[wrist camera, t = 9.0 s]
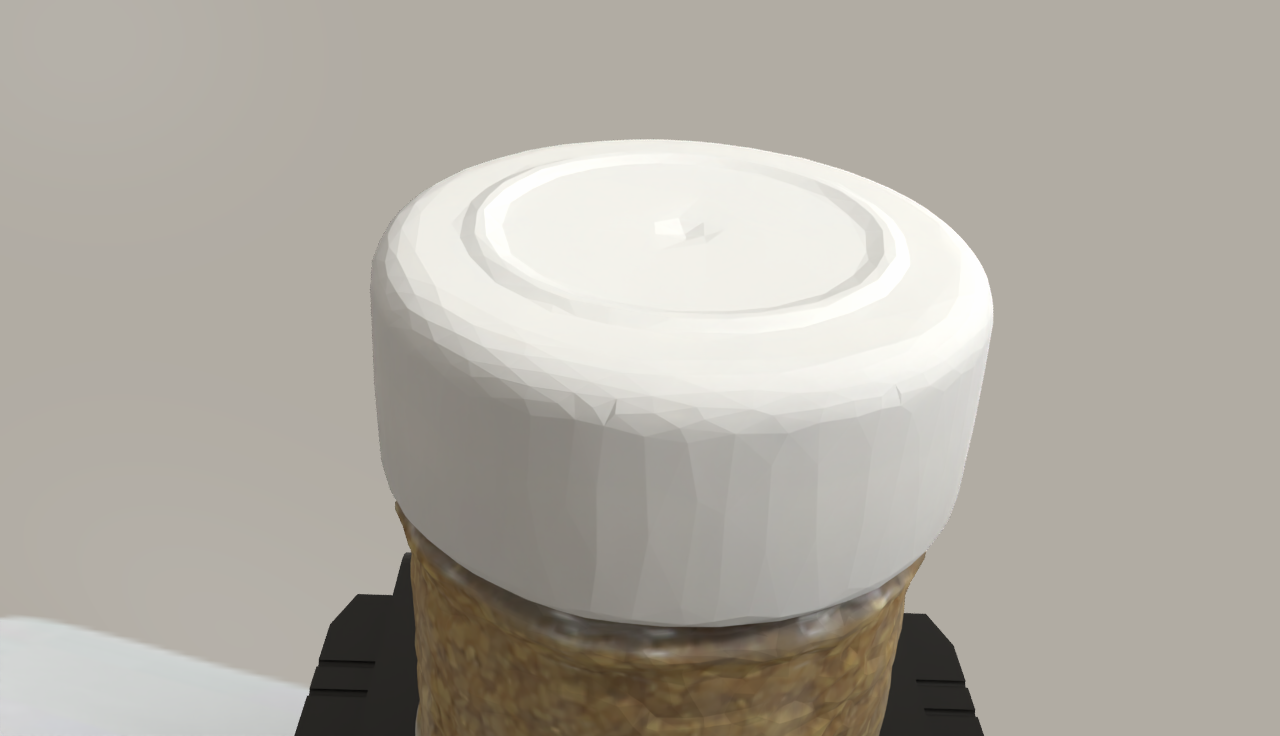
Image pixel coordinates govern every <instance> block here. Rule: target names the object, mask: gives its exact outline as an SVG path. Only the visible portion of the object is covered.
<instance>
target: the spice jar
mask: <svg viewBox="0 0 1280 736" xmlns="http://www.w3.org/2000/svg"><path fill="white" fill-rule="evenodd" d="M370 293H371V316H372V339H373V363H374V385H375V396H376V408H377V419H378V430H379V441H380V451H381V460H382V464H383V468H384V471H385V475H386V478H387V481H388V484H389V487H390V490H391V492H392V494H393V495H394V497H395V499H396V502H395V510H396V512H397V514H398V516H399V518H400V521H401V523H402V525H403V528H404V531H405V535H406V538H407V541H408V545H409V547H410V549H411V553H412V556H411V585H412V592H413V604H414V616H415V626H416V632H415V649H416V655H417V659H418V662H417V678H418V690H419V697H420V702H419V705H418V710H417V717H416V728H415V736H879V733H880V729H881V726H882V722H883V719H884V714H885V711H886V706H887V700H888V695H889V689H890V683H891V672H892V665H893V662H894V659H895V654H896V649H897V643H898V639H899V636H900V633H901V629H902V622H903V614H904V602H905V594H906V592H907V589H908V587H909V585H910V582H911V581H912V579H913V577H914V576H915V574H916V572H917V570H918V569H919V567H920V565H921V564H922V562H923V560H924V558H925V554H926V550H928V548H929V547H930V546H931V544H932V543H933V541H934V540H935V539H936V538H937V536H938V535H939V534H940V533H941V531H942V529H943V528H944V526H945V525H946V523H947V521H948V519H949V518H950V514H951V512H952V509H953V507H954V504H955V501H956V499H957V496H958V493H959V488H960V484H961V480H962V476H963V471H964V467H965V462H966V458H967V453H968V449H969V445H970V441H971V436H972V432H973V427H974V423H975V417H976V413H977V408H978V402H979V397H980V392H981V387H982V382H983V377H984V372H985V366H986V361H987V355H988V348H989V344H990V338H991V332H992V326H993V302H992V295H991V291H990V287H989V283H988V279H987V276H986V274H985V272H984V269H983V267H982V265H981V263H980V262H979V260H978V259H977V257H976V256H975V254H974V253H973V251H972V250H971V249H970V248H969V246H968V245H967V244H966V243H965V242H964V241H963V240H962V238H961V237H960V236H959V235H958V234H957V233H956V232H955V231H954V230H953V229H952V228H950V227H949V226H948V225H947V224H946V223H945V222H943V221H942V220H941V219H939V218H938V217H937V216H936V215H934V214H933V213H931V212H930V211H929V210H927V209H926V208H925V207H923V206H921V205H920V204H918V203H916V202H915V201H913V200H912V199H910V198H908V197H906V196H904V195H902V194H900V193H898V192H896V191H894V190H892V189H890V188H888V187H886V186H884V185H881V184H879V183H877V182H875V181H872V180H870V179H867V178H864V177H862V176H859V175H856V174H853V173H851V172H848V171H845V170H842V169H839V168H835V167H832V166H828V165H825V164H822V163H818V162H815V161H811V160H808V159H804V158H799V157H794V156H790V155H785V154H780V153H775V152H769V151H764V150H759V149H753V148H748V147H740V146H733V145H725V144H718V143H709V142H697V141H683V140H614V141H596V142H586V143H574V144H564V145H557V146H551V147H545V148H539V149H534V150H528V151H524V152H520V153H516V154H513V155H509V156H505V157H501V158H498V159H494V160H491V161H487V162H484V163H481V164H479V165H475V166H473V167H470V168H467V169H464V170H462V171H460V172H458V173H456V174H454V175H452V176H450V177H448V178H446V179H444V180H442V181H440V182H438V183H437V184H435V185H433V186H431V187H430V188H428V189H426V190H425V191H423V192H421V193H420V194H419V195H417V196H416V197H415V198H414V199H413V200H412V201H410V202H409V203H408V204H407V205H406V206H404V207H403V208H402V209H401V210H400V211H399V212H398V214H397V215H396V216H395V217H394V219H393V220H392V221H391V222H390V224H389V226H388V227H387V229H386V231H385V233H384V235H383V236H382V238H381V240H380V242H379V244H378V247H377V250H376V252H375V255H374V258H373V260H372V270H371V285H370Z"/></svg>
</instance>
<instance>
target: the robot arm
mask: <svg viewBox="0 0 1280 736" xmlns="http://www.w3.org/2000/svg"><path fill="white" fill-rule="evenodd" d="M411 556H412V553H405V554H404V556H403V559H402V562H401V566H400V570H399V574H398V577H397V581H396V585H395V589H394V593H393V595H368V594H367V595H366V594H358V595H356V597H355V598H354V599H353V600H352V601H351V602H350V603H349V604H348V605H347V606H346V608H345V609H344V610H343V611H342V612H341V613H340V614H339V615H338V616H337V617H336V619H335V620H334V621H333V622H332V623H331V624H330V627H329V630H328V633H327V636H326V639H325V642H324V645H323V648H322V651H321V655H320V657H319V665H318V667H316V670H315V673H314V676H313V679H312V682H311V686H310V693H309V696H307V698H306V701H305V704H304V707H303V710H302V714H301V717H300V720H299V723H298V726H297V729H296V732H295V735H294V736H415V728H416V717H417V710H418V705H419V702H420V697H419V690H418V678H417V662H418V659H417V655H416V649H415V632H416V626H415V616H414V604H413V592H412V585H411ZM879 736H984V734H983V731H982V728H981V725H980V723H979V720H978V717H975V708H974V705H973V702H972V699H971V696H970V693H969V690H968V688H966V687H965V679H964V675H963V672H962V669H961V666H960V663H959V661H958V658H957V655H956V652H955V649H954V646H953V644H951V642H950V641H949V640H948V639H947V638H946V637H945V635H944V634H943V633H942V632H941V631H940V630H939V628H938V627H937V626H936V625H935V624H934V623H933V622H932V620H931V619H930V618H929V617H928V616H927V615H926V614H911V613H904V614H903V622H902V629H901V633H900V636H899V639H898V643H897V649H896V654H895V659H894V662H893V665H892V672H891V683H890V689H889V695H888V700H887V706H886V711H885V714H884V719H883V722H882V726H881V729H880V733H879Z"/></svg>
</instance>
